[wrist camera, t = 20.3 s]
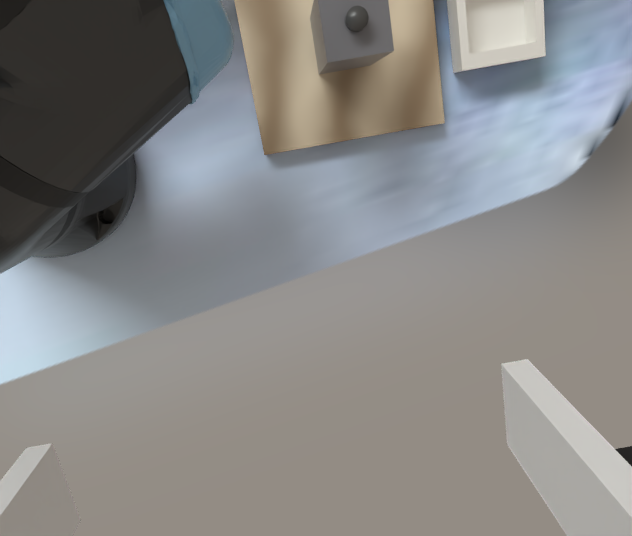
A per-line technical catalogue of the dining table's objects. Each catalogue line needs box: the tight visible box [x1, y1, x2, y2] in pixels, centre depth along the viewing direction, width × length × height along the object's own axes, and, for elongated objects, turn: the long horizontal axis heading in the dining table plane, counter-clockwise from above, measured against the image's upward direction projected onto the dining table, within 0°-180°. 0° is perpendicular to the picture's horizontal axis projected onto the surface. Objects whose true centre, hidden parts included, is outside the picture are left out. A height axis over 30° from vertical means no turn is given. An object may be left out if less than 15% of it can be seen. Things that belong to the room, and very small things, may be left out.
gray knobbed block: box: [310, 0, 394, 74], centre depth 38 cm, size 4×4×11 cm
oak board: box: [234, 0, 445, 155], centre depth 44 cm, size 16×16×1 cm
